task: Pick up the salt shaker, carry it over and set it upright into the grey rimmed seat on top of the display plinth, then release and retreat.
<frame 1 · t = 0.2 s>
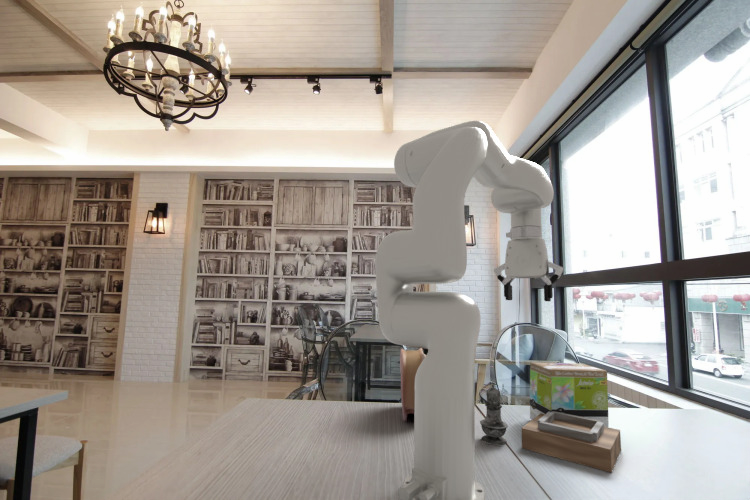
hand: (527, 300, 96), 31 cm above the table, fingers open, 9 cm apart
tea box: (568, 426, 93), on the table
face sculpture: (411, 415, 97), on the table
display plinth: (571, 448, 78), on the table
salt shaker: (493, 441, 81), on the table
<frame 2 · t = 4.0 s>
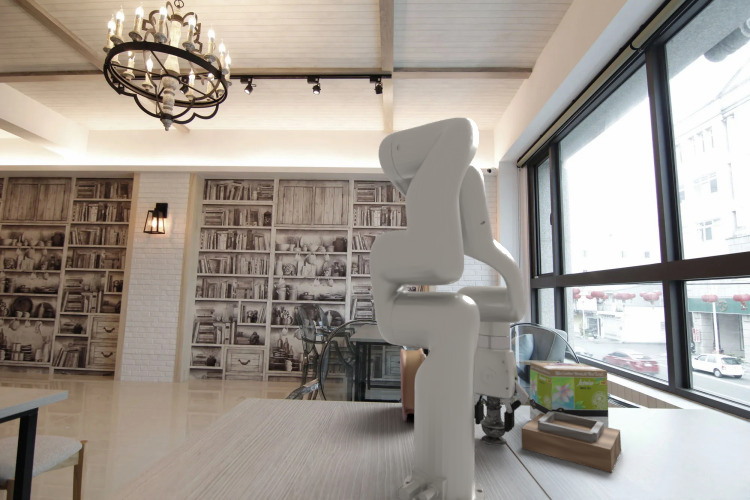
hand: (493, 425, 82), 3 cm above the table, fingers closed on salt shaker, 5 cm apart
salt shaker: (493, 441, 81), on the table, touching gripper
everything else where it was.
when the fingers open (8 cm above the table, at t = 10.7 s): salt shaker stays where it is, resting on display plinth.
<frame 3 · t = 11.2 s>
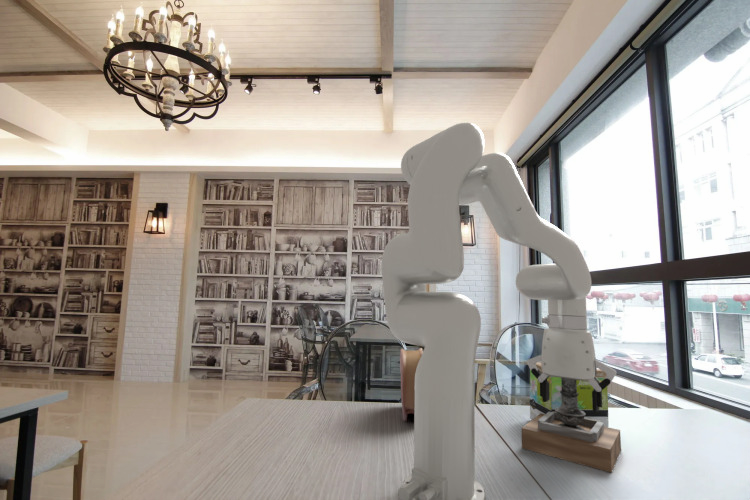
hand: (570, 405, 79), 9 cm above the table, fingers open, 9 cm apart
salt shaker: (570, 430, 78), point 4 cm above the table, touching display plinth
everything else where it was.
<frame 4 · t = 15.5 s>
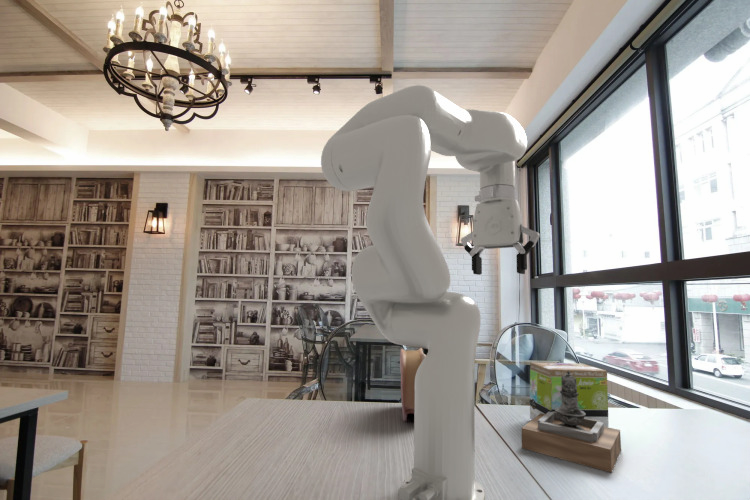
hand: (498, 273, 81), 36 cm above the table, fingers open, 9 cm apart
nothing on the table moved.
at the end: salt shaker 0.1 cm off-centre on the display plinth, point 3.8 cm above the display plinth's base; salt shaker tilted 0°; the gripper is holding nothing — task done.
